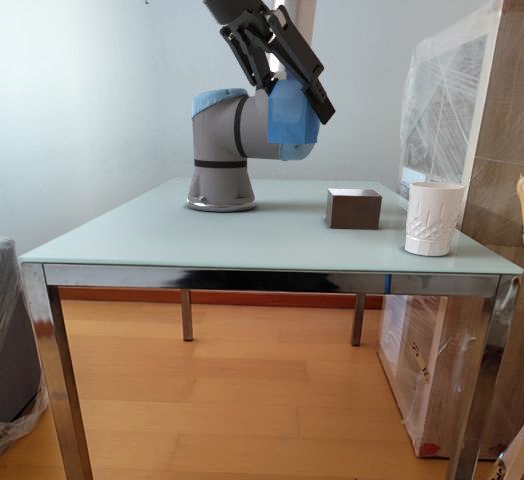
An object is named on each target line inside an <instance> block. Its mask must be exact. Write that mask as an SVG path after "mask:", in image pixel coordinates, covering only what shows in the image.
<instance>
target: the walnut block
mask: <svg viewBox="0 0 524 480" xmlns="http://www.w3.org/2000/svg"><path fill="white" fill-rule="evenodd" d="M382 201H383V196H382V195H381V194H379V193H378V191H376V190H374V189H366V188H365V189H362V188H359V189H358V188H327V197H326V209H325V210H326V211H325V221H326V222H327V224H328V226H329V228H330V229H344V230H345V229H346V230H347V229H348V230H379V227H380V219H381V218H380V217H381V212H382V211H381V210H382Z"/></svg>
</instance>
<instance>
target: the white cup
mask: <svg viewBox="0 0 524 480" xmlns="http://www.w3.org/2000/svg"><path fill="white" fill-rule="evenodd" d="M465 192H466V186H464V185H463V184H458V183H450V182H440V181H439V182H437V181H416V182H415V181H414V182H411V183H410V184H409V193H408V201H407V211H406V221H405V224H406V225H405V233H406V234H405V241H404V250H405V251H406V252H408V253H410V254H413V255H417V256H424V257H425V256H426V257H442V256H446V255H448V254H449V253H450V248H451V245H452V241H453V239H452V238H453V237H454V235H455V232H456V227H457V223H458V221H459V217H460V213H461V208H462V204H463V199H464V196H465Z"/></svg>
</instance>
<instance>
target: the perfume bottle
mask: <svg viewBox="0 0 524 480" xmlns="http://www.w3.org/2000/svg"><path fill="white" fill-rule="evenodd" d="M285 72H286V80H278V82H277V83H276V85H275V87H274V89H273V91H272V92H271V94H270V96H269V98H268V131H267V143H287V144H311V143H315V144H318V137H317V136H319V133H318V122H319V118H318V117H317V115H316V113H315V112H314V110H313V109H312V107H311V105H310V104H309V102H308V100H307V99H306V97H305V95H304V94H303V92H302V91H301V88H302V87H303V85H302V84H301V83H300V82H299V81H298V80H297V79H296V78H295V77H294V76H293V75H292V74H291V73H290V72H289V71H288V70H287V69H286V68H285Z"/></svg>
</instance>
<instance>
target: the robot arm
mask: <svg viewBox="0 0 524 480" xmlns="http://www.w3.org/2000/svg"><path fill="white" fill-rule="evenodd" d="M317 1H318V0H271V1H270V7H269V6H268V5H267V4H266V3H265V2H264V1H263V0H202V3H203V5H204V7H205V9H207V11H208V12H209V14H210V16H211V17H212V18H213V20H214V21H215V23H216V24H217V25H219V26H222V27H221V28H220V29H219V30H218V31H219V34H220V36H221V38H223V40H224V41H225V42H226V43H227V45H228V46H229V49H231V52H232V54H233V56H234V57H235V59H236V61H237V63H238V65H239V67H240V68H241V70H242V72H243V74H244V76H245V77H246V79H247V81H248V83H249V84H250V86H252V87H253V88H255V92H254V95H253V96H252V95H251V96H250V94H249V91H248V90H247V89H246V88H244V87H232V88H219V89H213V90H206V91H203V92H200V93H197V94H196V95H195V96H194V97H193V99H192V103H191V110H192V111H191V119H190V120H191V124H192V144H193V145H192V147H193V173H192V177H191V182H190V185H189V189H188V193H187V199H186V201H187V207H188V208H189V209H192V210H196V211H204V212H217V213H221V212H223V213H224V212H225V213H231V212H243V211H248V210H253V209H254V208H255V207H256V197H255V192H254V189H253V186H252V183H251V179H250V176H249V172H248V159H255V160H256V159H258V160H277V161H282V162H289V161H302V160H304V159H306V158H307V157H308V156H309V155H310V154H311V152H312V151H313V149H314V148H315V145H316V143H311V144H287V143H267V131H268V98H269V96H270V94H271V92H272V91H273V89H274V87H275V85H276V83H277V82H278V80H286V72H285V68H286V69H287V70H288V71H289V72H290V73H291V74H292V75H293V76H294V77H295V78H296V79H297V80H298V81H299V82H300V83H301V84H302V85H303V87H302V88H301V91H302V92H303V94H304V95H305V97H306V99H307V100H308V102H309V104H310V105H311V107H312V109H313V110H314V112H315V113H316V115H317V117H318V118H319V122H318V134H319V132H320V128H321V125H322V126H326V125H327V124H328V122H329V121H330V120H331V119H332V117H333V116H334V114H335V113H336V112H337V110H336V108H335V107H334V105H333V103H332V102H331V100H330V98H329V96H328V94H327V92H326V89H325V88H324V86H323V85H322V82H321V81H320V78H319V77H320V76H321V74H322V73H323V72H324V71H325V66H324V64H323V63H322V62H321V60H320V59H319V57H318V56H317V54H316V53H315V52H314V50H313V47H312V46H313V37H314V30H315V29H314V28H315V20H316V10H317V3H318V2H317ZM318 136H319V135H318ZM318 136H317V138H319V137H318Z"/></svg>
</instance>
